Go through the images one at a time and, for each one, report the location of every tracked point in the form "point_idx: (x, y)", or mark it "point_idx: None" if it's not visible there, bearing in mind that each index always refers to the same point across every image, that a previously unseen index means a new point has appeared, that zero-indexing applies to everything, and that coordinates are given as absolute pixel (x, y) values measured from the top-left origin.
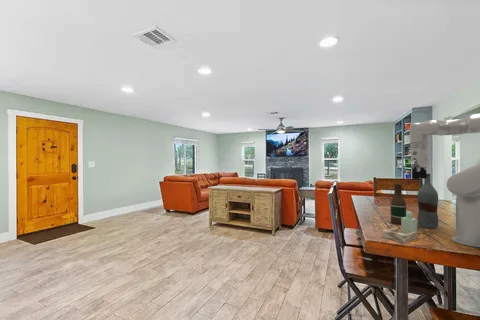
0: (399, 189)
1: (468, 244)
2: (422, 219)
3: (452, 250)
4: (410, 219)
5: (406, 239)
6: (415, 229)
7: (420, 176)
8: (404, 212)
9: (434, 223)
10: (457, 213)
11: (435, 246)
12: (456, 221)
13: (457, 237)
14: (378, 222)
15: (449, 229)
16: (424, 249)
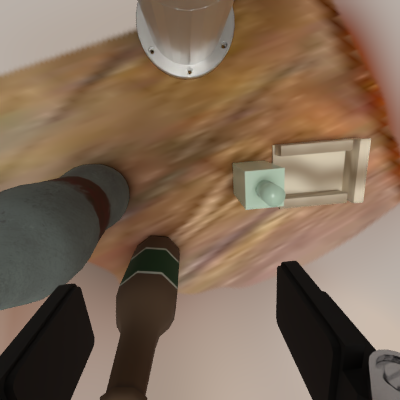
0: (140, 361)
1: (233, 13)
2: (125, 201)
3: (317, 29)
4: (281, 176)
5: (345, 139)
6: (248, 164)
7: (83, 350)
8: (153, 258)
9: (107, 168)
10: (228, 5)
11: (317, 74)
12: (212, 34)
13: (211, 51)
14: (200, 289)
15: (69, 136)
16: (370, 79)
